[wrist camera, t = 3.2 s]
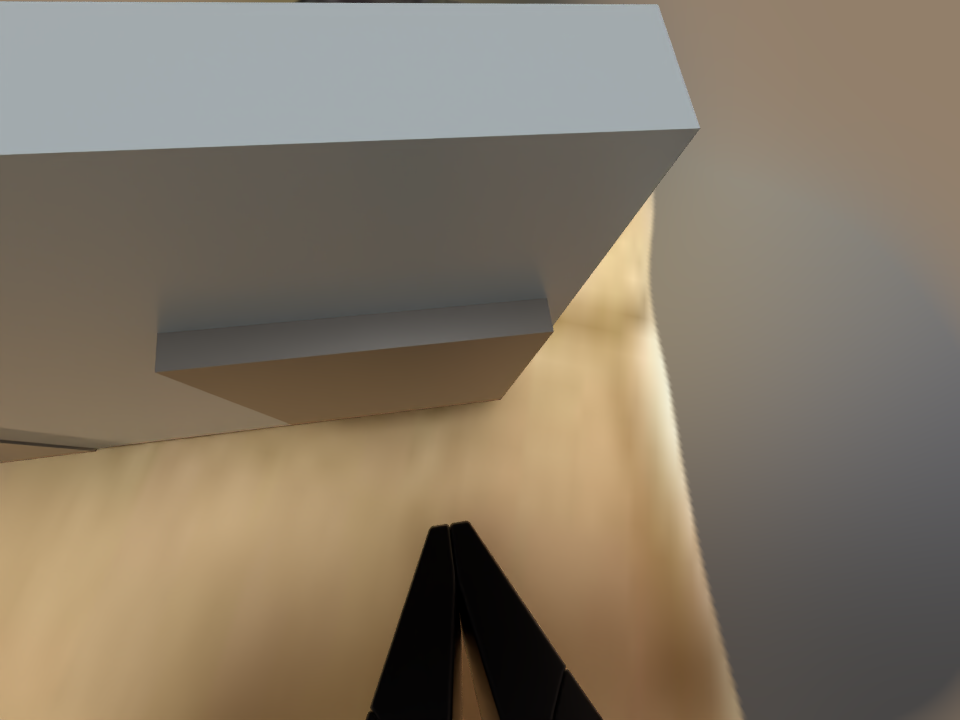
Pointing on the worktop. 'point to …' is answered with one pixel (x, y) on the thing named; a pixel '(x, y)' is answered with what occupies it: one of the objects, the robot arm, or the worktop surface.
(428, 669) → the robot arm
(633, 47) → the grey bookend
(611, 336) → the worktop surface
